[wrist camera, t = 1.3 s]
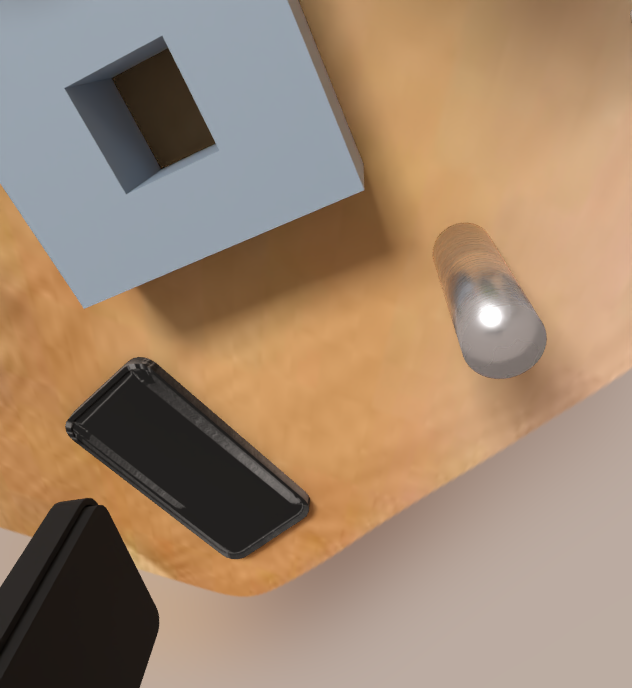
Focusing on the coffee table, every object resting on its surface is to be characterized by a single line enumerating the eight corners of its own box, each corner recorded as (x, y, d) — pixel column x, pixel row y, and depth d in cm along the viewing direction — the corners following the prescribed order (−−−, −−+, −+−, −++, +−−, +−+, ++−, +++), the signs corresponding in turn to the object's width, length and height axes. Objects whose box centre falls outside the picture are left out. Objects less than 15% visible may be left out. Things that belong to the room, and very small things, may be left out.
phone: (136, 355, 34) (316, 510, 38) (142, 346, 35) (317, 498, 39) (56, 429, 37) (233, 565, 41) (64, 419, 38) (236, 552, 42)
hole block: (251, -117, 24) (227, -150, 20) (363, 164, 29) (364, 190, 24) (-20, 42, 27) (-93, 45, 23) (121, 269, 32) (84, 308, 28)
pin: (482, 213, 30) (534, 293, 21) (499, 266, 31) (555, 363, 22) (424, 236, 30) (450, 323, 21) (443, 287, 31) (475, 388, 23)
